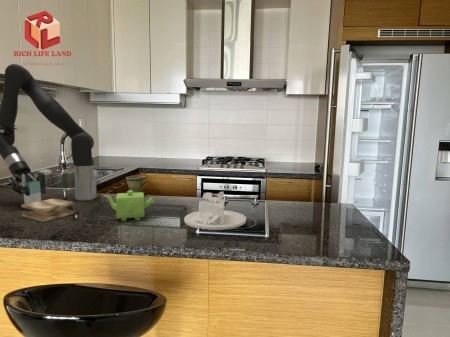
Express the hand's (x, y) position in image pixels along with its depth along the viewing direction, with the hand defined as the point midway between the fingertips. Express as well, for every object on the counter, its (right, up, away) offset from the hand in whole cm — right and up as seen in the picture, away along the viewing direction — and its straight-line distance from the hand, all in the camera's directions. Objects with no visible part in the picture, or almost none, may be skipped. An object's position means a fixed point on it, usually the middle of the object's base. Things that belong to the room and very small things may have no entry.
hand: (34, 193), depth 147 cm
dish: (+81, -10, -15) cm, 83 cm away
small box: (-20, -2, +34) cm, 40 cm away
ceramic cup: (+39, -4, +29) cm, 49 cm away
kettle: (+46, -9, -12) cm, 49 cm away
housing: (-2, -5, +2) cm, 5 cm away
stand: (+12, -8, -10) cm, 17 cm away
